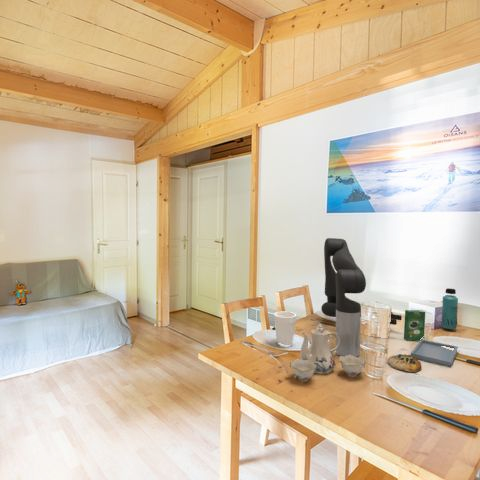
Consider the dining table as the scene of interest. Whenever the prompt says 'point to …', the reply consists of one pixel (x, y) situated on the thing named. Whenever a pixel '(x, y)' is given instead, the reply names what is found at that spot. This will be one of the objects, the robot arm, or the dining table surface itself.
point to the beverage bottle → (449, 310)
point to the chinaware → (322, 357)
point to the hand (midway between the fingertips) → (399, 320)
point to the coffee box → (414, 324)
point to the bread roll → (404, 363)
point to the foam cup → (285, 327)
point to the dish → (434, 353)
